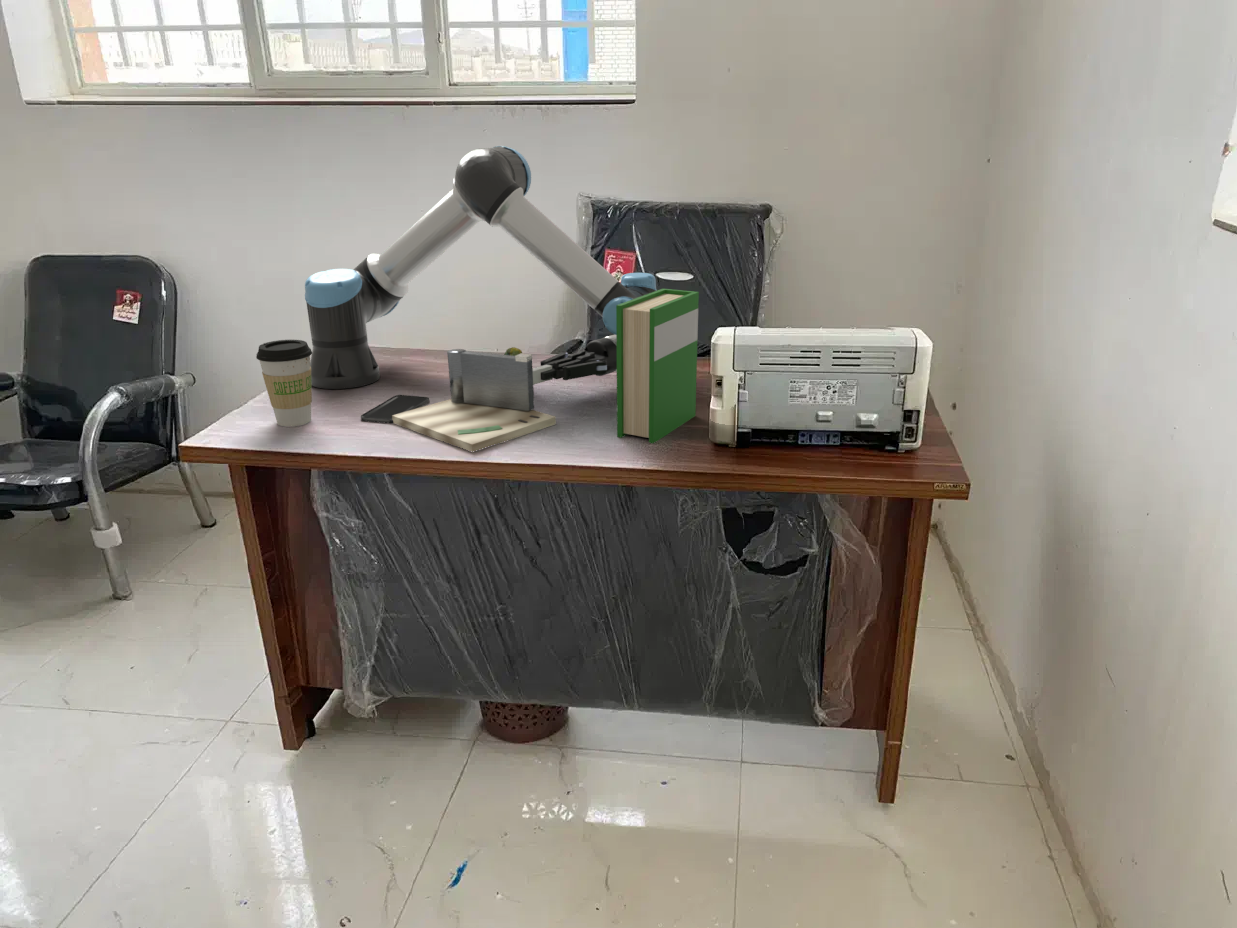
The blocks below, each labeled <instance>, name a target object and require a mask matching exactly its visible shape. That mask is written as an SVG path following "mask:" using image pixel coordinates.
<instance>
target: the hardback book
mask: <svg viewBox="0 0 1237 928" xmlns="http://www.w3.org/2000/svg"><path fill="white" fill-rule="evenodd" d="M699 294H700V292H699V291H693V290H692V291H691V290H682V289H671V288H660V289H657V291H655V292H652V293H649V294H646V295H644V296H641V297H638V298H635V299H632V300H630V301H627V302H624V303H621V304H618V305H616V333H617V372H616V430H617V431H616V435H617V436H616V437H617V438H623V437H625V436H627V435H630V436H631V435H632V436H637V437H642V438H648V443H649V442H650V443H649V444H653V443H654V442H655V443H657V442H658V441H660V440H661V439H663V438H664V437H666V436H667V435H669V434H670V433H672V432H673V431H675V430H676V429H677V428H680V427H681V426H682V425H684V424H686V423H687V422H689V421H690V420H692V419H693V418H694V417H696V411H697V408H696V405H697V401H696V400H697V373H698V372H697V370H698V336H699V335H698V334H699V333H698V332H699V331H698V330H699V326H698V325H699V298H700V295H699ZM656 441H657V442H656ZM655 443H654V444H655Z"/></svg>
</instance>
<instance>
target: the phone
mask: <svg viewBox="0 0 1237 928" xmlns="http://www.w3.org/2000/svg"><path fill="white" fill-rule="evenodd" d="M429 403H430V397H428V396H419V395H411V394H410V395H408V394H396V395H393V396H392V397H389V398H388V399H387V400H385V401H383V402H381V403H380V404H378V405H376V406H375V407H373V408H371V409H370V410H367V411H366V412H365V413H362V414H360V420H361V421H362V422H368V421H369V422H371V423H379V422H380V423H379V424H390V425H391V424H392V425H393V424H394V423H393V420H392V415H395V414H399V413H402V412H406V411H410V410H413V409H417V408H420V407H424V406H427V404H428V405H429Z"/></svg>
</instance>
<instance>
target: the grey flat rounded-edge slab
mask: <svg viewBox="0 0 1237 928" xmlns="http://www.w3.org/2000/svg"><path fill="white" fill-rule="evenodd" d="M447 365H448V377H449V379H448V380H449V388H450V399H451V402H453V403H471V404H478V405H486V406H494V407H501V408H509V409H517V410H524V411H530V410H534V409H535V401H534V400H535V397H534V396H535V395H534V385H533V369H532V368H533V354H530V353H523V352H522V353H520V354H518V355H516V356H511V355H504V354H502V353H501V354H500V353H492V352H483V351H472V350H471V351H470V350H466V349H463V348H453V349H449V350H447Z"/></svg>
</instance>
